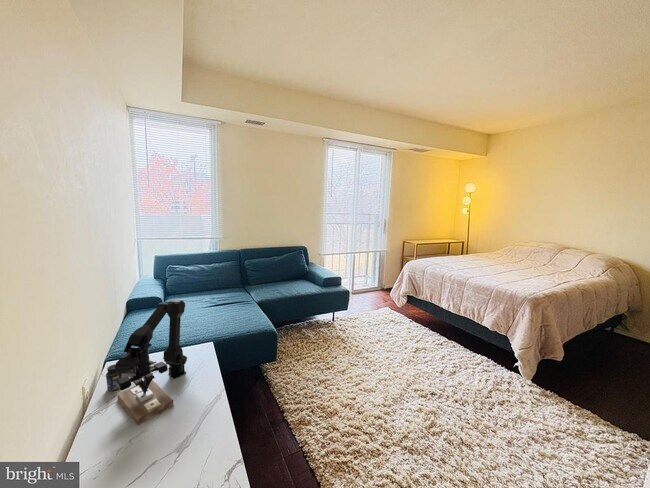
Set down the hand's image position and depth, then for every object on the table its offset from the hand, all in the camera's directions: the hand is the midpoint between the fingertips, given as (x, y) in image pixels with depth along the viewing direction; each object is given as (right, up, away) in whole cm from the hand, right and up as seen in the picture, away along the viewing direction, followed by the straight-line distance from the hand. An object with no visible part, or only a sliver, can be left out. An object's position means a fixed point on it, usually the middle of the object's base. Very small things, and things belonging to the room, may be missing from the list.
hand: (144, 392), depth 126 cm
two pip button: (-6, -4, +6) cm, 9 cm away
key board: (0, -5, +1) cm, 5 cm away
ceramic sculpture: (-20, -2, +25) cm, 32 cm away
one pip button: (+6, -6, -4) cm, 9 cm away
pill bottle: (-21, -4, +11) cm, 24 cm away
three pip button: (0, -3, 0) cm, 4 cm away
